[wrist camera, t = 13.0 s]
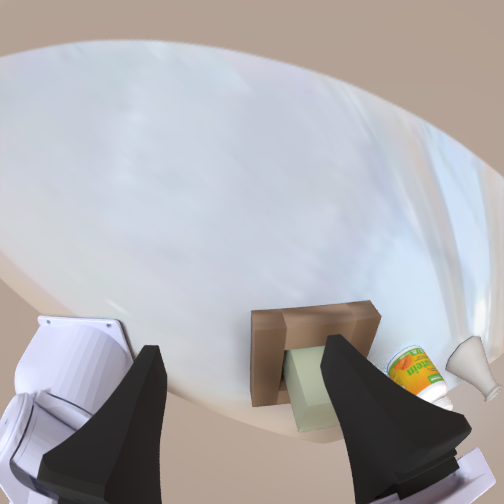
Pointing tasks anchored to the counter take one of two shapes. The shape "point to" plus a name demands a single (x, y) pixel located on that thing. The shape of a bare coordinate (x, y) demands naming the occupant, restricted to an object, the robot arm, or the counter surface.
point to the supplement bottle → (419, 376)
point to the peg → (308, 389)
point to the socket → (302, 340)
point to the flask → (474, 367)
